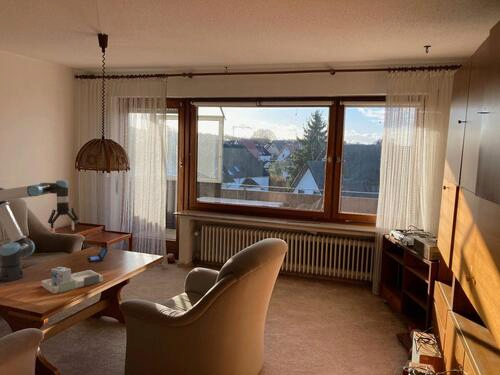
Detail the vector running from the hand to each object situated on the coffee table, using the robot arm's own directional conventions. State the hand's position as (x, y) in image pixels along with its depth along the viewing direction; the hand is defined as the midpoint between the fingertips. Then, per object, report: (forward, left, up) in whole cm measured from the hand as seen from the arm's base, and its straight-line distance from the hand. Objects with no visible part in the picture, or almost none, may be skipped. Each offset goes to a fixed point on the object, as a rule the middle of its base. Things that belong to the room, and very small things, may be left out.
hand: (63, 231), depth 279 cm
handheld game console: (+33, +16, -31) cm, 48 cm away
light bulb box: (-13, -25, -30) cm, 41 cm away
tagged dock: (-5, -26, -31) cm, 40 cm away
